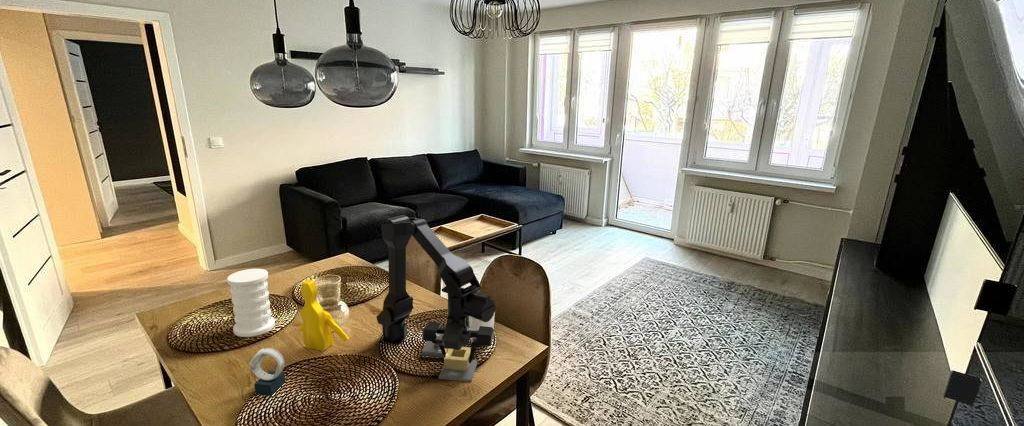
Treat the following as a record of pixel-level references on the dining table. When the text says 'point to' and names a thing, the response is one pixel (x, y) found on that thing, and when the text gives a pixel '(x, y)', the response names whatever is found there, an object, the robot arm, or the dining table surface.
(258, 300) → the decorative container
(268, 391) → the white ring sculpture
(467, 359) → the square hollow block
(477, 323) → the white cup
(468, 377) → the felt coaster
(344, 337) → the figure statuette
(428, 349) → the grey peg base
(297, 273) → the dining table surface
